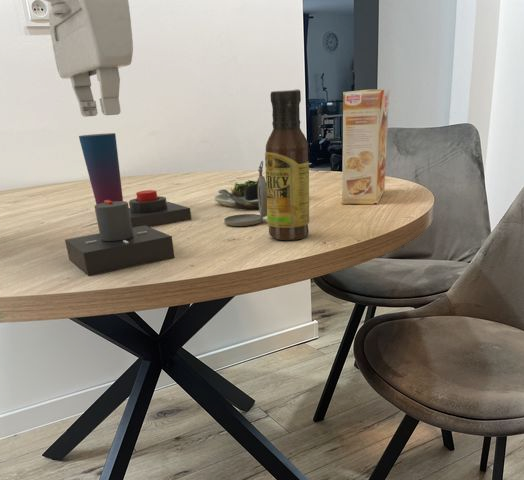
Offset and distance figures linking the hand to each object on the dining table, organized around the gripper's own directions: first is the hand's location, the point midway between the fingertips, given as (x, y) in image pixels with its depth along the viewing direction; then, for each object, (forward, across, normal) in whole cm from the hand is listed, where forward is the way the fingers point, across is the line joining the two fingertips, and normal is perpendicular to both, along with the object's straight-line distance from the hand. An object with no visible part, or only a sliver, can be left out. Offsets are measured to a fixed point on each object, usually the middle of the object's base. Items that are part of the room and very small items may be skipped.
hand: (100, 115), depth 63 cm
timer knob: (+15, -2, 0) cm, 15 cm away
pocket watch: (+18, -8, +25) cm, 32 cm away
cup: (+18, -38, +10) cm, 43 cm away
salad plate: (+18, -24, +37) cm, 48 cm away
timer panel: (+18, -2, 0) cm, 18 cm away
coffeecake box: (+18, -11, +54) cm, 58 cm away
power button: (+15, -24, +13) cm, 31 cm away
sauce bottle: (+18, +5, +24) cm, 31 cm away
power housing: (+18, -24, +13) cm, 33 cm away
